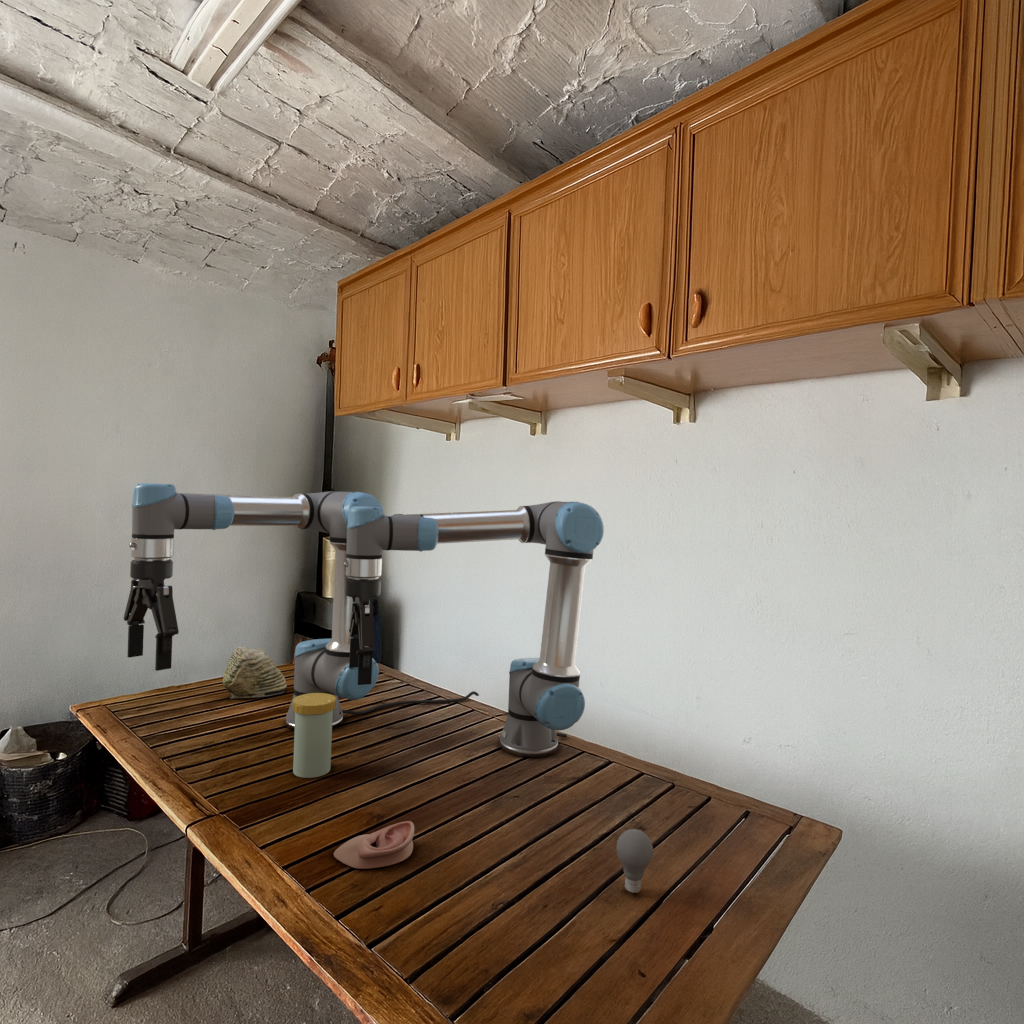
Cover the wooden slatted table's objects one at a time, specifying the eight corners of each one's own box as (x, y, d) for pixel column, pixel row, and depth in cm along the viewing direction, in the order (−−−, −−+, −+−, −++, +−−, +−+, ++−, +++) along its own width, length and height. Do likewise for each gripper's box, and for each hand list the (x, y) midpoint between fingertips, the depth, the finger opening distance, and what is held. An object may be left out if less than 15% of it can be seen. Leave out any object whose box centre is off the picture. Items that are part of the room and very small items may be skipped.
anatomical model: (325, 840, 109) (355, 809, 121) (324, 863, 109) (354, 830, 121) (398, 852, 107) (421, 819, 118) (397, 876, 107) (420, 840, 118)
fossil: (218, 695, 195) (220, 647, 195) (278, 685, 208) (279, 640, 207) (228, 703, 189) (230, 653, 188) (289, 692, 201) (290, 645, 201)
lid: (320, 698, 153) (321, 690, 153) (343, 708, 147) (344, 699, 147) (284, 707, 146) (284, 698, 146) (307, 718, 139) (307, 708, 139)
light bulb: (610, 879, 108) (613, 822, 108) (644, 879, 109) (647, 822, 109) (619, 902, 102) (622, 840, 102) (655, 901, 103) (658, 840, 103)
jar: (317, 759, 152) (320, 693, 152) (337, 770, 147) (340, 701, 147) (286, 769, 146) (288, 700, 146) (305, 781, 141) (308, 709, 140)
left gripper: (108, 554, 134) (104, 654, 134) (159, 565, 118) (155, 678, 119) (146, 552, 140) (143, 648, 140) (199, 563, 124) (195, 671, 124)
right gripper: (339, 570, 147) (335, 661, 147) (353, 585, 124) (349, 693, 124) (371, 570, 150) (368, 659, 150) (391, 585, 127) (387, 690, 127)
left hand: (148, 662), depth 129 cm, fingers open, 13 cm apart
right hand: (359, 675), depth 137 cm, fingers open, 13 cm apart
